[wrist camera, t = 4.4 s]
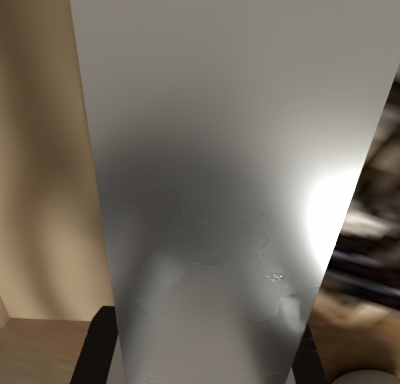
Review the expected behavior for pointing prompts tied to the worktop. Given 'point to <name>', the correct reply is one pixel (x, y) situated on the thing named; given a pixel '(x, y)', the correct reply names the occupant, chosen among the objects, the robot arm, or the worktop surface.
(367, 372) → the pump dispenser
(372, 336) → the worktop surface
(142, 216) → the rail
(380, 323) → the worktop surface
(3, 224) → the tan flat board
